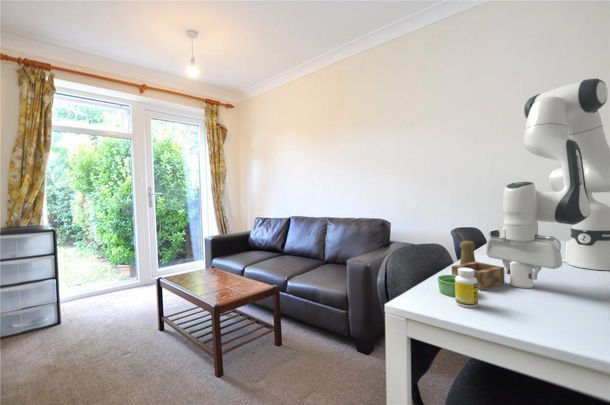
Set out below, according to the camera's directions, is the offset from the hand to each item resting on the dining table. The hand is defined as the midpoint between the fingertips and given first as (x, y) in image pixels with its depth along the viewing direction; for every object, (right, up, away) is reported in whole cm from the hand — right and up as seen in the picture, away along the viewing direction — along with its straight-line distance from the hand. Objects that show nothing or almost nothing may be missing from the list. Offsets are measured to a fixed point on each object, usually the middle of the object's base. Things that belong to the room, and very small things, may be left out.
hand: (521, 276), depth 91 cm
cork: (-4, -3, +22) cm, 23 cm away
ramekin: (-23, -5, -2) cm, 23 cm away
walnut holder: (-11, -4, +5) cm, 12 cm away
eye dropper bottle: (0, -3, 0) cm, 3 cm away
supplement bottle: (-24, -5, -12) cm, 27 cm away
